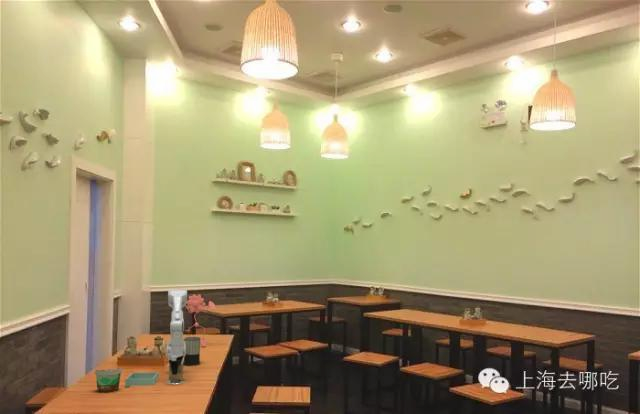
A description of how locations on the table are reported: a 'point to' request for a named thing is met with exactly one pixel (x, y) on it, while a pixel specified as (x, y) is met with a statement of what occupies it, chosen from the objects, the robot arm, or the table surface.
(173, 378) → the brown wooden block
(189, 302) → the pink flower branch
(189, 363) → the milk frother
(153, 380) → the teal bin
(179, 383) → the steel base plate
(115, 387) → the food container
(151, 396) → the table surface
